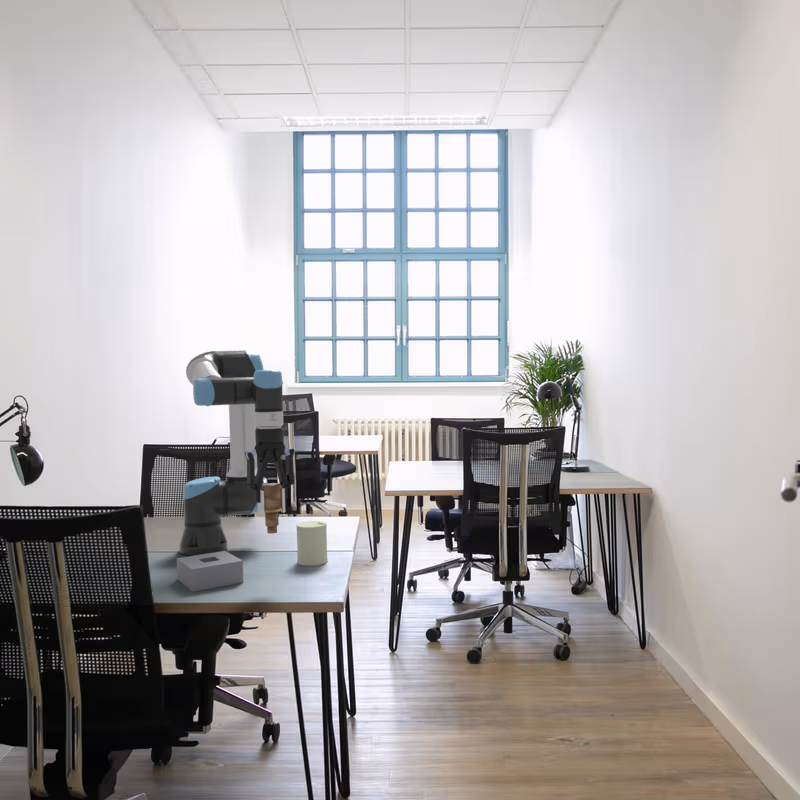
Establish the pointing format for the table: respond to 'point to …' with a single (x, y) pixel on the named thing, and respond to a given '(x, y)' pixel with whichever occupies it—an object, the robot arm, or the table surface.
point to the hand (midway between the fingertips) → (271, 512)
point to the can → (312, 543)
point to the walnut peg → (272, 505)
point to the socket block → (209, 570)
